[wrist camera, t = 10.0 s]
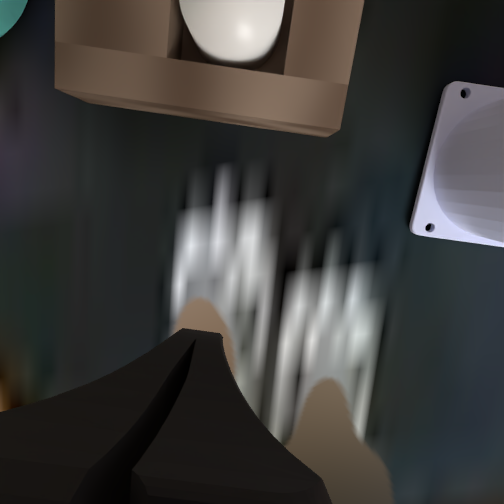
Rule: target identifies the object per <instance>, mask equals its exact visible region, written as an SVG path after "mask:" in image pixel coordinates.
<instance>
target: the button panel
mask: <svg viewBox="0 0 504 504" xmlns="http://www.w3.org/2000/svg"><path fill="white" fill-rule="evenodd" d="M363 4H364V0H285V4H284V10H283V17H282V23H281V30H280V35H279V40H278V43H277V45H276V48H275V50H274V52H273V53H272V55H271V56H270V58H269V59H268V60H267V61H266V62H265V63H264V64H263V65H262V66H260V67H259V68H257V69H255V70H254V71H252V70H246V69H239V68H232V67H225V66H219V65H212V64H209V63H208V62H207V61H206V60H205V59H204V58H203V56H202V55H201V53H200V52H199V50H198V48H197V46H196V44H195V42H194V39H193V37H192V35H191V33H190V31H189V29H188V26H187V24H186V22H185V20H184V18H183V15H182V12H181V7H180V2H179V0H55V88H56V89H58V90H60V91H62V92H65V93H67V94H69V95H71V96H74V97H76V98H78V99H81V100H83V101H85V102H87V103H92V104H99V105H106V106H113V107H120V108H127V109H134V110H140V111H147V112H154V113H161V114H168V115H175V116H182V117H189V118H195V119H202V120H209V121H216V122H223V123H230V124H237V125H244V126H251V127H257V128H264V129H271V130H278V131H285V132H292V133H299V134H306V135H313V136H319V137H328V136H330V135H332V134H333V133H335V132H337V131H338V130H340V126H341V121H342V116H343V110H344V105H345V100H346V94H347V89H348V84H349V79H350V73H351V68H352V63H353V57H354V52H355V47H356V41H357V36H358V31H359V26H360V20H361V15H362V10H363Z"/></svg>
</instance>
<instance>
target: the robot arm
mask: <svg viewBox="0 0 504 504" xmlns="http://www.w3.org/2000/svg"><path fill="white" fill-rule="evenodd" d="M462 89H463V90H465V92H466V97H465V98H462V97H461V95H460V92H461V90H462ZM428 223H430V224H431V228H430V230H429V231H426V230H425V227H426V225H427V224H428ZM409 228H410V231H411V232H412V233H414V234H417V235H421V236H428V237H435V238H443V239H450V240H457V241H464V242H471V243H478V244H485V245H492V246H499V247H504V88H500V87H493V86H487V85H480V84H473V83H467V82H460V81H454V82H452V83H450V84H448V85H447V86H446V87H445V88H444V90H443V92H442V96H441V100H440V104H439V108H438V112H437V116H436V120H435V124H434V128H433V132H432V136H431V140H430V144H429V148H428V152H427V156H426V161H425V165H424V169H423V173H422V177H421V181H420V185H419V189H418V193H417V197H416V201H415V205H414V209H413V213H412V217H411V221H410V226H409ZM222 339H223V337H222V335H221V334H220V333H214V332H207V331H199V330H192V329H185V328H182V329H181V330H179V331H178V332H176V333H175V334H173V335H172V336H171V337H169V338H168V339H166V340H165V341H164V342H162V343H161V344H159V345H158V346H156V347H155V348H153V349H152V350H151V351H149V352H148V353H146V354H144V355H143V356H141V357H139V358H137V359H136V360H134V361H132V362H131V363H129V364H127V365H126V366H124V367H122V368H120V369H118V370H116V371H114V372H112V373H110V374H108V375H106V376H104V377H102V378H100V379H97V380H95V381H93V382H91V383H88V384H86V385H83V386H81V387H78V388H75V389H73V390H70V391H67V392H65V393H62V394H59V395H57V396H54V397H51V398H48V399H45V400H41V401H38V402H35V403H32V404H28V405H25V406H21V407H18V408H14V409H10V410H7V411H3V412H0V504H332V502H331V499H330V497H329V494H328V492H327V489H326V487H325V484H324V482H323V480H322V479H321V478H320V477H319V476H318V475H317V474H316V473H314V472H313V471H312V470H311V469H310V468H308V467H307V466H306V465H305V464H303V463H302V462H301V461H300V460H299V459H297V458H296V457H295V456H294V455H292V454H291V453H290V452H289V451H288V450H287V449H286V448H285V447H284V446H283V445H282V444H281V443H280V442H279V441H278V440H277V439H276V438H275V437H274V436H273V435H272V434H271V433H270V432H269V431H268V429H267V428H266V427H265V426H264V425H263V423H262V422H261V421H260V420H259V419H258V417H257V416H256V415H255V413H254V412H253V410H252V409H251V407H250V406H249V404H248V403H247V401H246V400H245V398H244V396H243V395H242V393H241V391H240V389H239V387H238V385H237V383H236V381H235V379H234V377H233V375H232V372H231V370H230V367H229V365H228V362H227V359H226V356H225V352H224V348H223V340H222Z"/></svg>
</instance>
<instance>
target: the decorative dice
mask: <svg viewBox="0 0 504 504" xmlns="http://www.w3.org/2000/svg"><path fill="white" fill-rule="evenodd" d="M27 1H28V0H0V37H1V36H3V35H4V34H5V33H6V32H7V31H8V30H9V29H10V28H11V27H12V26H13V25H14V24H15V23H16V22H17V20H18V19H19V18H20V16H21V14H22V13H23V11H24V9H25V6H26V4H27Z"/></svg>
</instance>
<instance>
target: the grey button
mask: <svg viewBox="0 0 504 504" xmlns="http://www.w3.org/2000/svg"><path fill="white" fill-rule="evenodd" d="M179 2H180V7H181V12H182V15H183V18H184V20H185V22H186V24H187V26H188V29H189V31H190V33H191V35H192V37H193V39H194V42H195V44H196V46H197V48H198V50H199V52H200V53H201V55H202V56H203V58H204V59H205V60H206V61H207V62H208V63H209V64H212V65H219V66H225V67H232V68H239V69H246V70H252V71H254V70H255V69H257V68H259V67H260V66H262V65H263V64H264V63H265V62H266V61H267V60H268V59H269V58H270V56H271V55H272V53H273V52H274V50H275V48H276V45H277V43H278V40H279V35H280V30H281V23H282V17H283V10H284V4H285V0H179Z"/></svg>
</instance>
